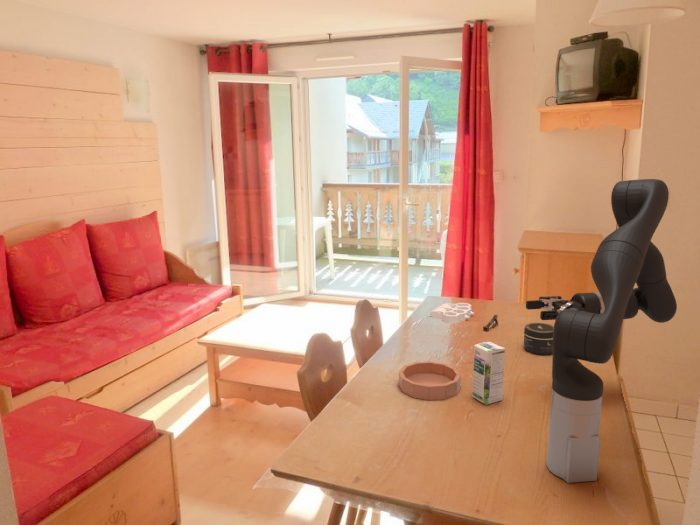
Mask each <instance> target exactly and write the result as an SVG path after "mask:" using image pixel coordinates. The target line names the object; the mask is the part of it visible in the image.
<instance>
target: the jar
mask: <svg viewBox="0 0 700 525" xmlns="http://www.w3.org/2000/svg"><path fill="white" fill-rule="evenodd" d="M523 329H524V330H523V347H524V349H525V350H526V352H527V353H529V354H533V355H539V356H549V355H553V329H554V325H552V324H550V323H544V322H530V323H528V324H527V323H526V324H525V325H524V328H523Z"/></svg>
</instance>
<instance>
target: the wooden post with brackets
mask: <svg viewBox="0 0 700 525" xmlns="http://www.w3.org/2000/svg"><path fill="white" fill-rule="evenodd" d="M494 322H495V323H494ZM497 326H499V321H498V314H494V315H493V316H492V318H491V319H490V320H489V321H488V323H487V324H486V325H484V326H482V329H483V331H487V332H489V328H492V329H494V328H496V327H497Z"/></svg>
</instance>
